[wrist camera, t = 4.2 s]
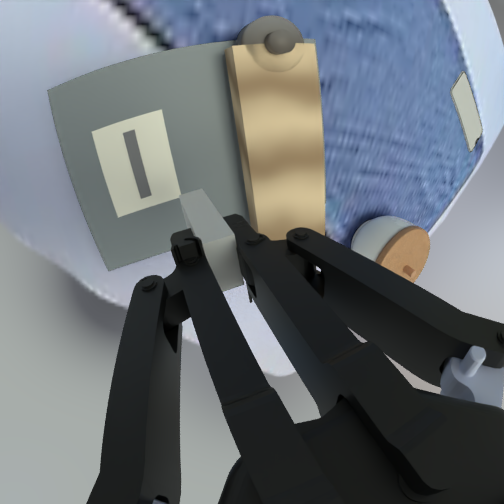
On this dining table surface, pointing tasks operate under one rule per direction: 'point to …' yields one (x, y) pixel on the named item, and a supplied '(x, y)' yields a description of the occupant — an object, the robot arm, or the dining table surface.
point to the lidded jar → (393, 245)
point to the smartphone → (466, 110)
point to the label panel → (151, 146)
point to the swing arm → (278, 126)
